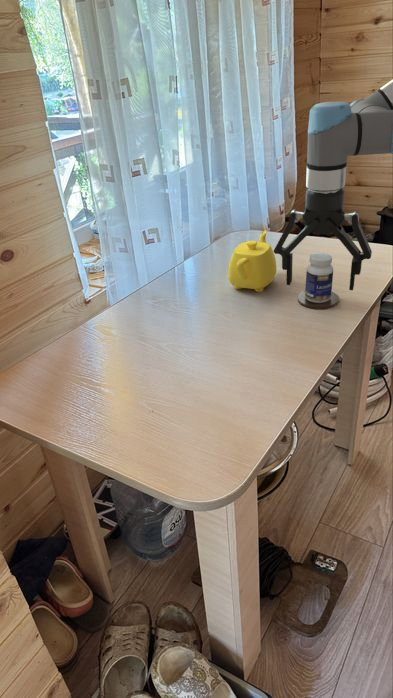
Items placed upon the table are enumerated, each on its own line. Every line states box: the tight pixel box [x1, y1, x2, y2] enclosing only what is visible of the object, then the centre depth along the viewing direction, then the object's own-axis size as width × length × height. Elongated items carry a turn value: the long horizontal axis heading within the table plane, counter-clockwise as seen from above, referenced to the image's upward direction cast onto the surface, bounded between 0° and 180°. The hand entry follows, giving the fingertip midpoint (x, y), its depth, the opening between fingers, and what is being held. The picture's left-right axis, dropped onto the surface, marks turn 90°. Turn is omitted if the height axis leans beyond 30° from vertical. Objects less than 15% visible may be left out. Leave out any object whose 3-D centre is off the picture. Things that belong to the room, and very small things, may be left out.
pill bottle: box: [304, 252, 334, 303], centre depth 113 cm, size 6×6×10 cm
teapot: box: [227, 229, 277, 293], centre depth 123 cm, size 18×11×11 cm, turn 154°
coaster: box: [297, 290, 340, 310], centre depth 116 cm, size 9×9×1 cm
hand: (319, 285), depth 114 cm, fingers open, 13 cm apart
